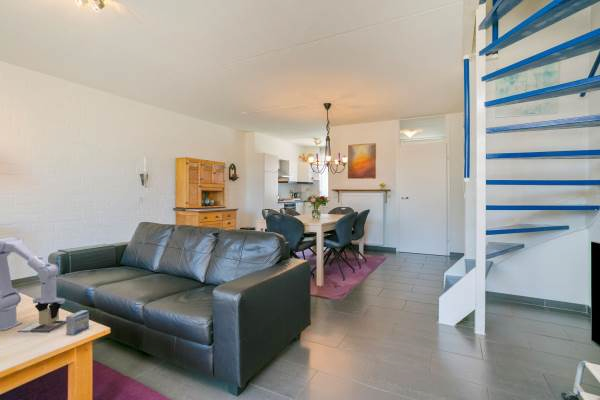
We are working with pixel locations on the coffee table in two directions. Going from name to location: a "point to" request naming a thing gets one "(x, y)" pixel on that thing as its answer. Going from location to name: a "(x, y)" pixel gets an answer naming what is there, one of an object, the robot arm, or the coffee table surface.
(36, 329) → the grey square frame
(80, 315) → the medicine box
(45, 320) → the box
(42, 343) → the coffee table surface
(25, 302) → the coffee table surface
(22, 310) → the coffee table surface
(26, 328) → the pad
